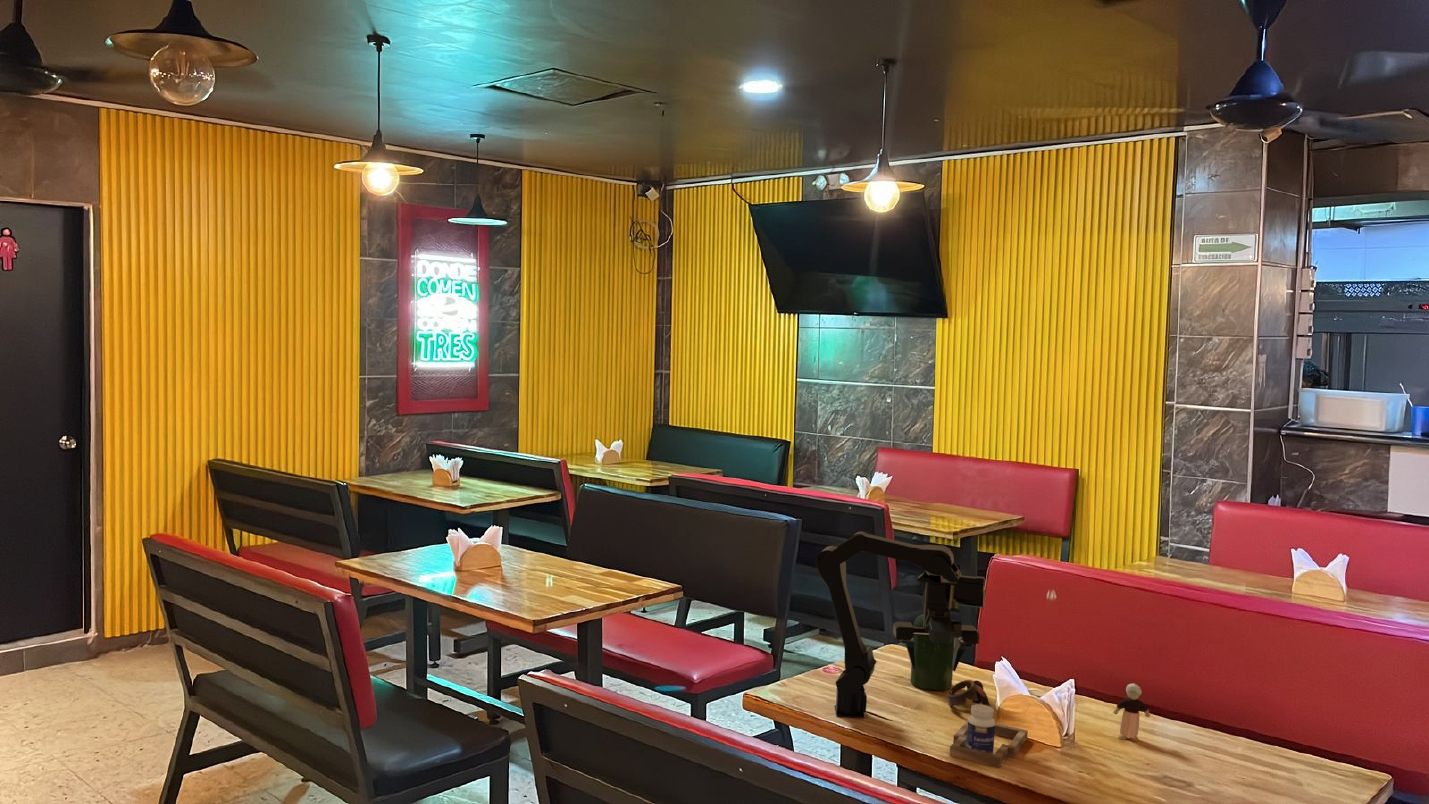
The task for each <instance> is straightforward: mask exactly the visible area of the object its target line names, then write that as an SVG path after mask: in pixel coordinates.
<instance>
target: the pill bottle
mask: <svg viewBox="0 0 1429 804" xmlns="http://www.w3.org/2000/svg"><path fill="white" fill-rule="evenodd" d="M970 707H971V708H970V713H971V715H969V716H968V719H967V721H968V727H967V740H966V747H965V748H969V749H973V750H977V751H981V752H986V753H990V754H993V751H994V746H995V736H996V735H995V723H996V720H995V719H994V718H993V717H994V713H995V710H994V708H993V707H991V706H990V707H989V706H986V705H982V703H979V704H977V703H974V704H972V705H971V706H970Z"/></svg>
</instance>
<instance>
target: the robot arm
mask: <svg viewBox="0 0 1429 804" xmlns="http://www.w3.org/2000/svg"><path fill="white" fill-rule="evenodd" d="M859 552H865V553H869V554H874V555H878V556H881V557H885V558H890V559H893V560H896V561H897V560H898V561H902V562H905V563H906V562H907V563H909V564H912V565H915V566H916V567H918V568H919V569H921V570H923V573H922V574H920V575H919V576H918V577H917V580H916V581H917V582H919V583H925V589H926V590H925V589H924V591H925V605H924V610H923V614H924V622H923V627H914V625H913V624H912V622H909V621H895V622H894V623H893V626H892V633H893V636H894V637H895V640H898V641H900V643H901V644H905V647H906V649H907V653H908V654H907V655H908V657H909V661H910V666H911V665H912V668H913V669H914V668H915V654H914V643H915V642H914V640H913V637H914V635H916V636H929V637H930V641H931V642H933V643H946V644H950V643H951V642H952V638H955V642H954V655H953V672H955V671H957V667H958V665H959V663H960V662H961V661H960V660H961V658H962V656H963V655H964V653H965V651H966V650H967V649H968V648H972V647H973V646H974V645H979V644H980V633H979V631H978V629H976V627H975V625H967V624H962V621H961V620H952V621H951V619H952V617H951V596H952V586H953V597H952V598H953V601H955V603H957V605H958V606H966V607H974V608H984V607H985V598H986V597H985V596H986V589H985V577H984V576H978V575H977V576H973V575H972V576H971V575H963V574H962V572H961V570H960V569H959V567H958V565H956V562H955V559H954V558H955V557H954V553H953V552H952V550H951V549H950V548H949V547H947V546H945V545H938V544H937V545H936V544H912V543H907V542H905V541H904V542H903V541H900V540H896V539H891V538H888V537H887V538H886V537H883V536H880V535H874V534H870V533H867V532H865V531H858V532H855V534H854V535H852V536H850V537H849V538H848V539H846V540H844V541H842V542H841V543H839V544H838V545H836V546H835V545H828V546H826V547H825V548H824V549H822V551H820V553H818V555H817V556H816V558H815V566H816V569H817V571H818V574H819V575H820V578H821V579H822V581H823V582H824V583H825V585H826V587H827V588H828V591H829V594H830V595H829V596H830V598H831V603H832V606H833V609H834V613H835V617H836V620H837V624H838V627H839V631H840V636H841V639H842V642H843V646H844V647H843V648H844V669H843V671H842V672H841V673H840V674H839V677H838V678H837V679H836V681H835V686H836V692H835V694H836V696H835V705H834V710H835V715H836V717H841V718H842V717H845V718H863V719H864V718H865V714H866V713H867V702H868V701H867V700H868V698H867V697H868V696H867V693H866V692H865V691H866V689H865V686H864V685H866V684H867V683H868V682H869V681H870V679H871V677H872V675H873V674H874V672H875V667H876V666H875V665H877V660H876V659H875V657H874V653H873V652H874V651H873V646H872V645H871V646H868V647H867V646H866V645H865V644H864V642H863V639H862V637H861V633H860V630H859V626H858V622H857V618H856V614H855V611H854V608H853V603H852V600H851V596H850V592H849V589H848V586H847V562H846V561H848V560H849V559H851V558H852V557H854V556H855V555H856V554H858V553H859Z"/></svg>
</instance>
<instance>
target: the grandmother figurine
mask: <svg viewBox="0 0 1429 804" xmlns="http://www.w3.org/2000/svg"><path fill="white" fill-rule="evenodd" d="M1125 690H1126V694H1127V697H1124V698H1123V699H1121V700H1120V701H1119V702H1118V703H1117V704H1116V707H1115V708H1114V710H1113V712H1112V713H1113V714H1114V715H1118V714H1119V712H1120V711H1121V710H1122V709H1123V712H1122V716H1121V720H1120V721H1121V722H1120V727H1119V734H1118V735H1117V739H1120V740H1127V739H1129V740H1130V741H1133V742H1139V741H1138V740H1139V737H1138V735H1139V729H1140V728H1139V727H1140V711H1141V712H1143V714H1144V716H1145V718H1150V717H1151V714H1150V711H1149V707H1148V705H1147V704H1146V703H1144V702H1143V701H1142V700H1140V699H1138V698H1139V697H1140V696H1141V695H1142V693H1143V692H1142V691H1143V690H1142V689H1141V687H1140V686H1139V685H1138V684H1136V683H1129V684H1127V686H1126V688H1125Z"/></svg>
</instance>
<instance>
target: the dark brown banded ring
mask: <svg viewBox="0 0 1429 804" xmlns="http://www.w3.org/2000/svg"><path fill="white" fill-rule="evenodd" d="M965 688H966V690H964V691H963V692H961V693H958V694H956V693H957V692H958V691H961V690H962V689H965ZM987 695H988V694H987V693H986V691H985V690H984V685H983V683H982V682H981V681H979V680H972V679H966V680H965V679H964V680H963V681H959V682H957V683H955V684H954V685H952V686H951V687H950V688H949V690H948V691H947V693H946V696H947V697H948V699H947V704H948V706H949V708H953V707H958V706H962V707H965V708H966V707H967V699H968V700H969V701H971V702H972V703H973V704H981V705H986V706H989V707H991V704H990V701H989V698H988V696H987Z"/></svg>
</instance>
